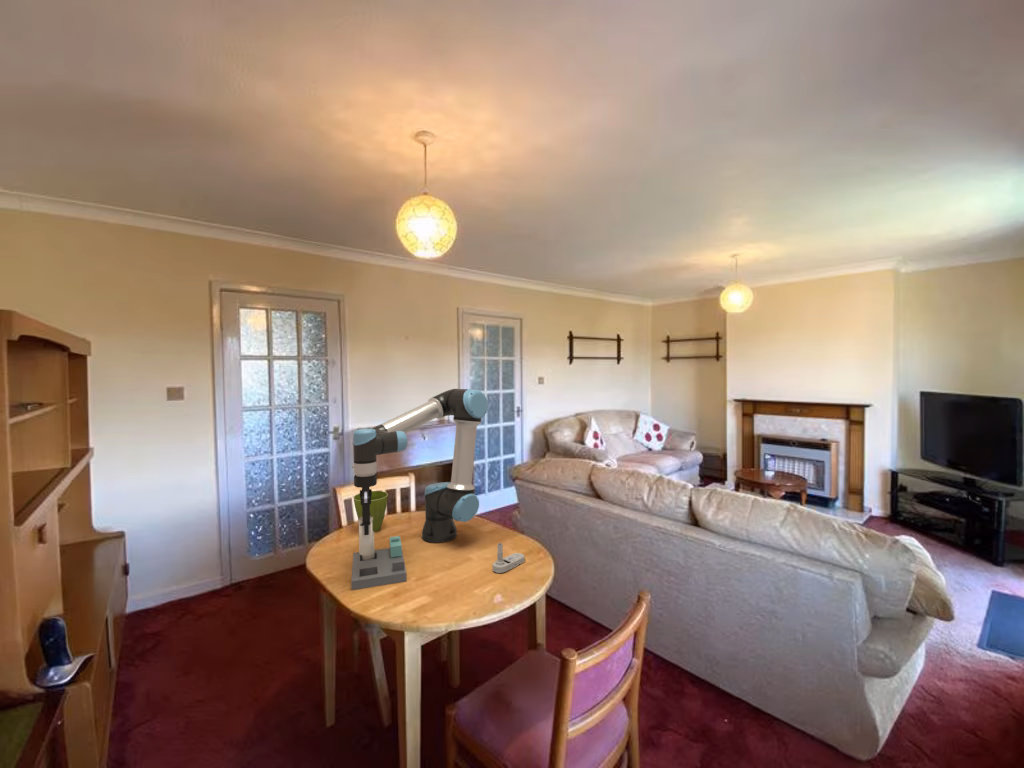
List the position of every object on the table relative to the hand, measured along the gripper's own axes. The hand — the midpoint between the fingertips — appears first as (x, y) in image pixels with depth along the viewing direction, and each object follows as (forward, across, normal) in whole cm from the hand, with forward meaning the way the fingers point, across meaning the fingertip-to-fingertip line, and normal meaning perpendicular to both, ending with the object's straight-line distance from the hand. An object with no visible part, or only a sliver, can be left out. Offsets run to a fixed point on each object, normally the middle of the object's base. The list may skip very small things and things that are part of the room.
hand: (366, 540), depth 155 cm
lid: (+11, -14, +10) cm, 20 cm away
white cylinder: (+14, -13, 0) cm, 19 cm away
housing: (+14, -7, +4) cm, 16 cm away
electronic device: (+14, +6, +50) cm, 52 cm away
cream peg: (+4, 0, 0) cm, 4 cm away
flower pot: (+14, -50, +2) cm, 52 cm away
